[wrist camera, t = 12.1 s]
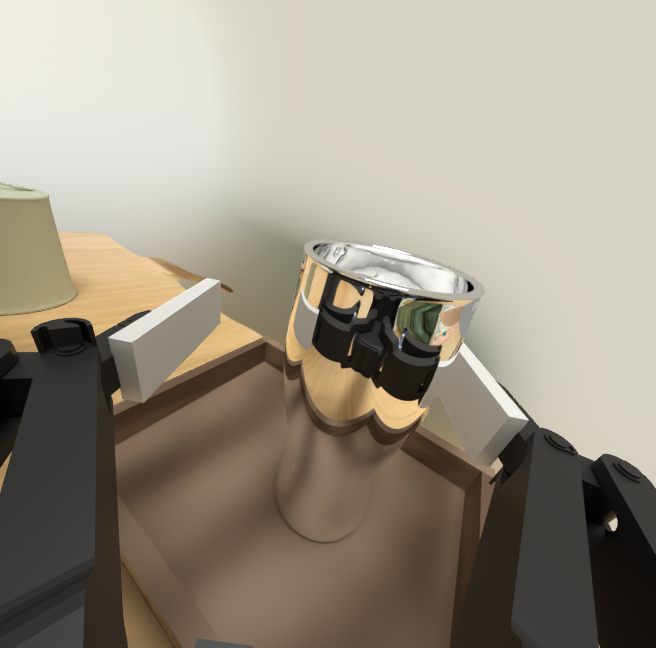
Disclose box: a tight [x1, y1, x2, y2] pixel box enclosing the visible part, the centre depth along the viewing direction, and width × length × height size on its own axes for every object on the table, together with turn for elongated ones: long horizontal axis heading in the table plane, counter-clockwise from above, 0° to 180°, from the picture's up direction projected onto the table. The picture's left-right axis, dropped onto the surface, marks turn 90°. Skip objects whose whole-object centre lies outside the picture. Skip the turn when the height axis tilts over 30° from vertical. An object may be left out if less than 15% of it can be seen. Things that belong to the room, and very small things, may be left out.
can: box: [0, 182, 77, 315], centre depth 26 cm, size 9×9×12 cm
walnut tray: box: [113, 336, 495, 648], centre depth 16 cm, size 22×16×4 cm
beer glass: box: [275, 239, 485, 542], centre depth 13 cm, size 7×7×15 cm
